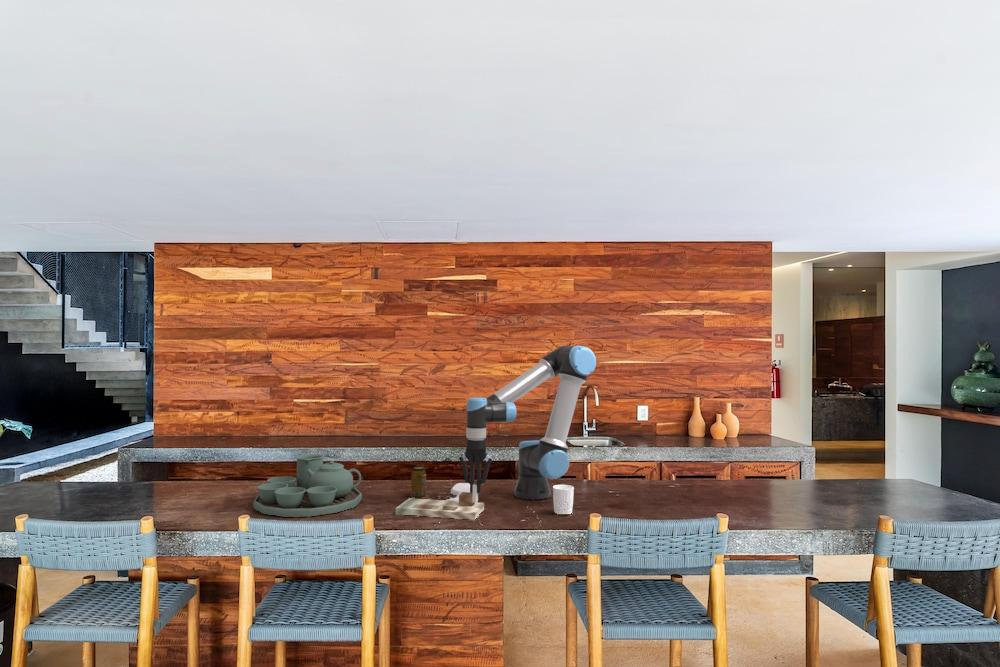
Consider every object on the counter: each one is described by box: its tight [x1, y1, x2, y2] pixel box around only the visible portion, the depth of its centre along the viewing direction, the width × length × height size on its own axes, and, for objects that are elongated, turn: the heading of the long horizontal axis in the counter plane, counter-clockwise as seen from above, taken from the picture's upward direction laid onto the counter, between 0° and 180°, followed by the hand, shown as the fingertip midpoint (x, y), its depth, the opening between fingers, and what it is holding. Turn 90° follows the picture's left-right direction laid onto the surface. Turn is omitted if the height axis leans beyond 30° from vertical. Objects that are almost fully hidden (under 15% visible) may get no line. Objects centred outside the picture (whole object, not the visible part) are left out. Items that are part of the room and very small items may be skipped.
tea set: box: [252, 453, 363, 516], centre depth 239 cm, size 40×40×16 cm
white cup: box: [552, 484, 575, 514], centre depth 229 cm, size 8×8×10 cm
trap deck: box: [395, 497, 485, 521], centre depth 230 cm, size 30×15×2 cm, turn 79°
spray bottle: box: [445, 482, 470, 501], centre depth 255 cm, size 3×11×24 cm
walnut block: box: [459, 492, 475, 507], centre depth 231 cm, size 5×5×4 cm
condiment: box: [410, 466, 427, 498], centre depth 252 cm, size 7×8×12 cm
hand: (475, 501), depth 231 cm, fingers closed
